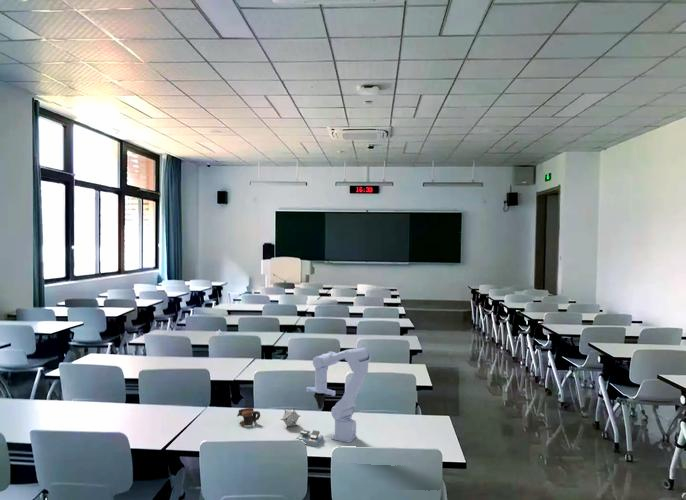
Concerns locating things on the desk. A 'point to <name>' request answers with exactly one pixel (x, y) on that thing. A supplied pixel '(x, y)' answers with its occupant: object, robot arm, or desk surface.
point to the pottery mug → (248, 416)
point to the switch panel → (310, 441)
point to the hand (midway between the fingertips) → (320, 408)
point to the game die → (290, 417)
